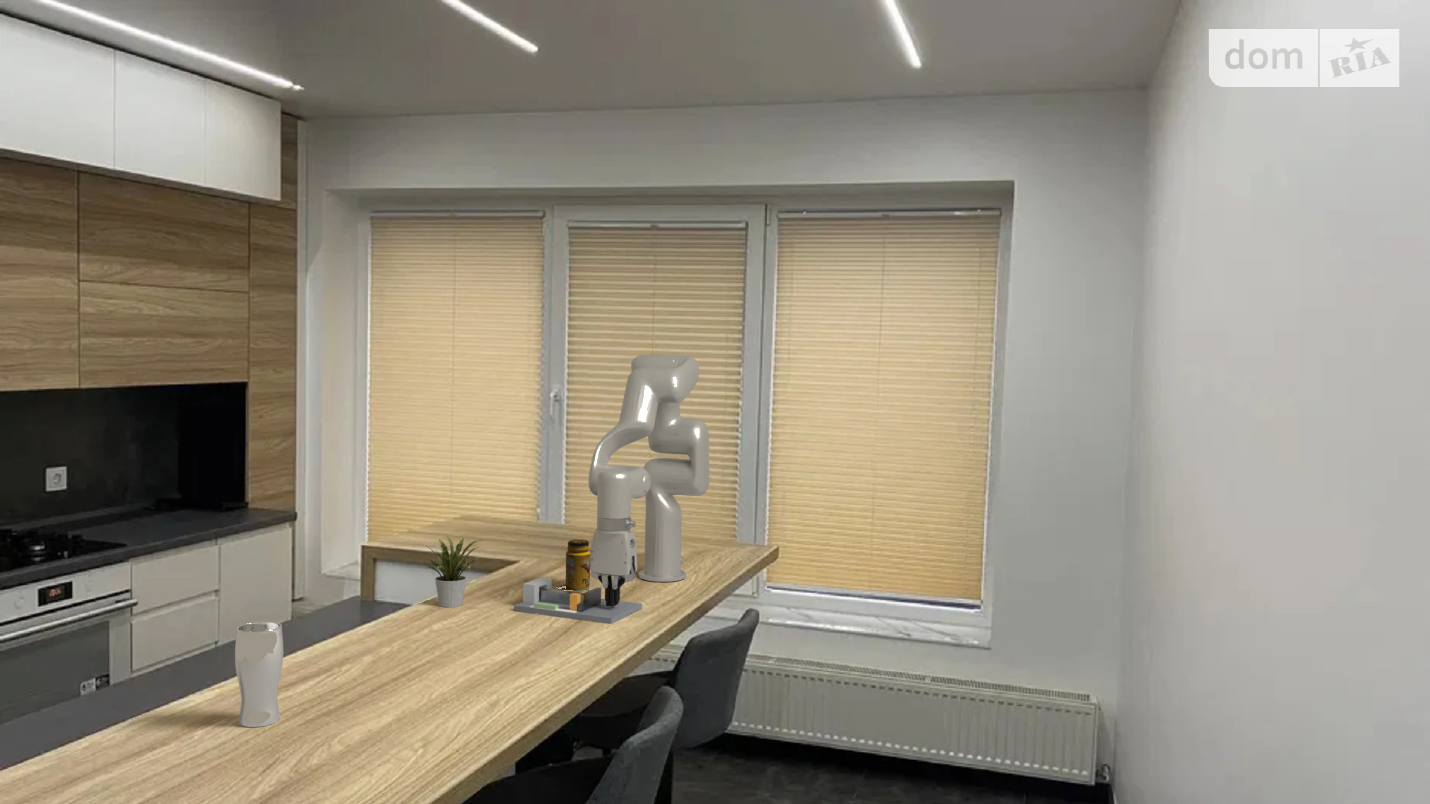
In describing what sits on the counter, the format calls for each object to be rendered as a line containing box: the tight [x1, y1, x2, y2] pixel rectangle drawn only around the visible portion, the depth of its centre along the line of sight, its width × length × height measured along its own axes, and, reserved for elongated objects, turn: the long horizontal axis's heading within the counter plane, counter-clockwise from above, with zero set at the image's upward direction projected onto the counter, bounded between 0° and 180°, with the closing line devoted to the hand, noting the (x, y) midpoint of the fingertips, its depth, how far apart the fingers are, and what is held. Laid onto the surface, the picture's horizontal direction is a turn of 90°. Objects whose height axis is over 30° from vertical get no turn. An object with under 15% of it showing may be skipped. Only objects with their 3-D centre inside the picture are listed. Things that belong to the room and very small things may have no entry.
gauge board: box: [513, 577, 643, 625], centre depth 237 cm, size 15×25×5 cm, turn 68°
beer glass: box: [234, 620, 284, 728], centre depth 162 cm, size 7×7×15 cm
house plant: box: [421, 535, 482, 608], centre depth 238 cm, size 14×14×16 cm
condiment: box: [552, 539, 595, 592], centre depth 258 cm, size 7×8×12 cm
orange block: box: [570, 593, 581, 611], centre depth 232 cm, size 2×2×4 cm
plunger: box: [539, 587, 602, 612], centre depth 237 cm, size 9×15×4 cm, turn 68°
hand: (612, 604), depth 234 cm, fingers closed
